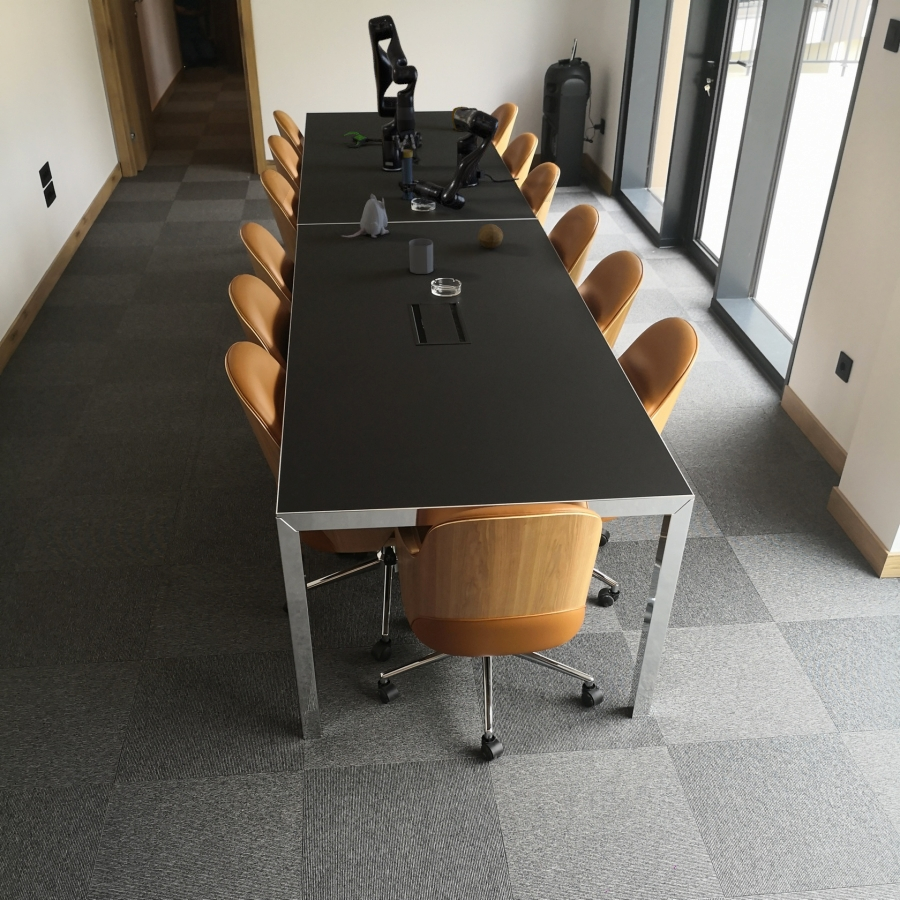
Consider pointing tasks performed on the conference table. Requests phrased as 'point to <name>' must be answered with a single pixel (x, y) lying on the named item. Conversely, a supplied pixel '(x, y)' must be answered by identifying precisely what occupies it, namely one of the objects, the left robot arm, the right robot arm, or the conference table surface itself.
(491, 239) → the potato
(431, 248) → the cup
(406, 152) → the lid
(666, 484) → the conference table surface
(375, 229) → the toy
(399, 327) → the conference table surface
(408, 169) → the dark blue cylinder
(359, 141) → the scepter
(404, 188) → the right robot arm
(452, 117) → the apple
